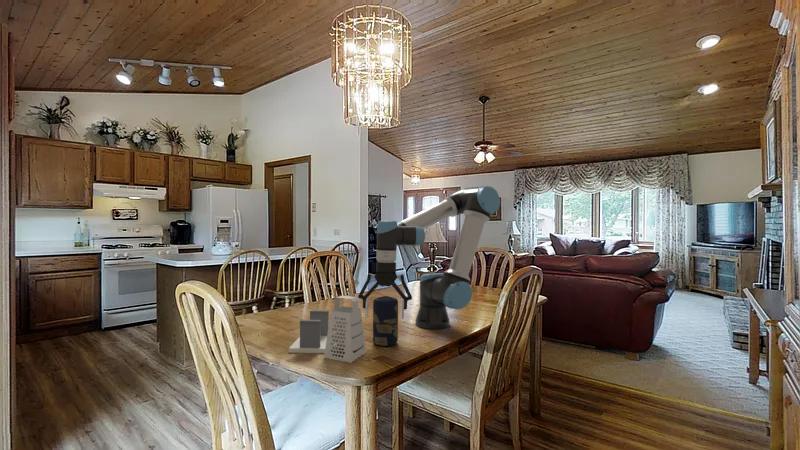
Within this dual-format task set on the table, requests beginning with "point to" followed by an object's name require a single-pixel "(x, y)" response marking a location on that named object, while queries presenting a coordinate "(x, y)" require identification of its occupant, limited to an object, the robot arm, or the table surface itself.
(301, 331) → the napkin holder
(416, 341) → the table surface
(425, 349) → the table surface
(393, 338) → the canister
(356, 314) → the grater
